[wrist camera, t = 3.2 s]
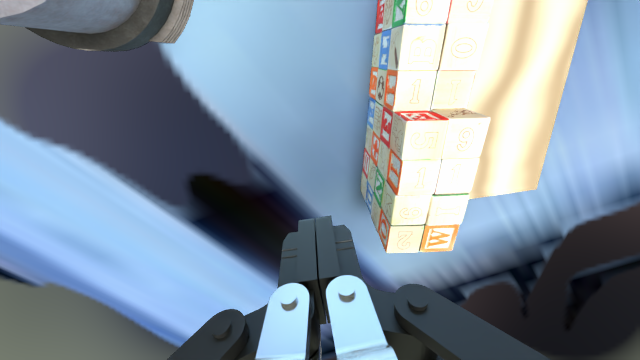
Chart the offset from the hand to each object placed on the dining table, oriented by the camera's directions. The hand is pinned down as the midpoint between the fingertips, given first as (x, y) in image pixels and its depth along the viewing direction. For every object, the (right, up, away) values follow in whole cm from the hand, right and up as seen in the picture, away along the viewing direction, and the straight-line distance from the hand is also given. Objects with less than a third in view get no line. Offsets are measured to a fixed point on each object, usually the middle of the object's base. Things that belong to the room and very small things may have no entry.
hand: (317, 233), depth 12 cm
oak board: (+21, +12, +17) cm, 29 cm away
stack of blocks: (+9, +11, +18) cm, 22 cm away
